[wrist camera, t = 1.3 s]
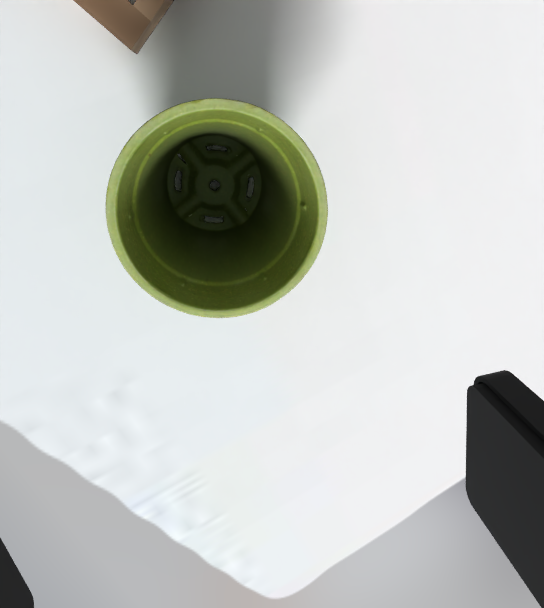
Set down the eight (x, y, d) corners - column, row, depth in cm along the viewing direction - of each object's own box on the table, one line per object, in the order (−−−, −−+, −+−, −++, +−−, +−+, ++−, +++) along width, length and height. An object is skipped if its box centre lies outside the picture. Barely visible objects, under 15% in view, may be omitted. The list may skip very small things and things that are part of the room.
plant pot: (255, 69, 34) (284, 59, 23) (311, 223, 39) (354, 271, 28) (99, 136, 34) (59, 155, 24) (174, 281, 39) (168, 348, 29)
